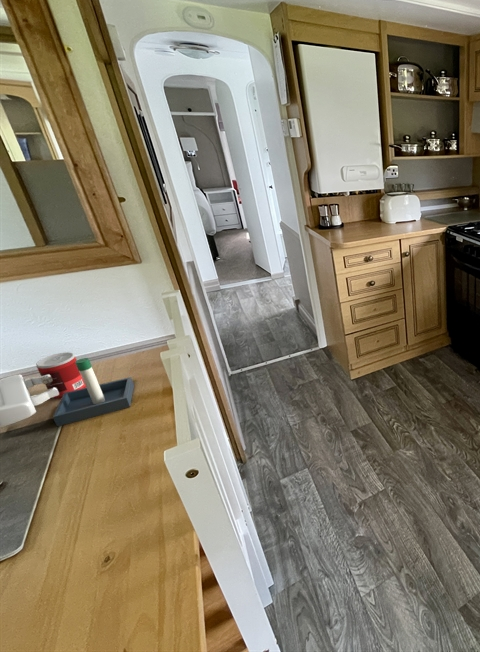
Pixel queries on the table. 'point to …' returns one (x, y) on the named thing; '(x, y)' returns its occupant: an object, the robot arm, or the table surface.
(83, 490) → the table surface
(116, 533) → the table surface
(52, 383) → the canned food
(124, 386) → the tray
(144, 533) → the table surface
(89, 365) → the marker
